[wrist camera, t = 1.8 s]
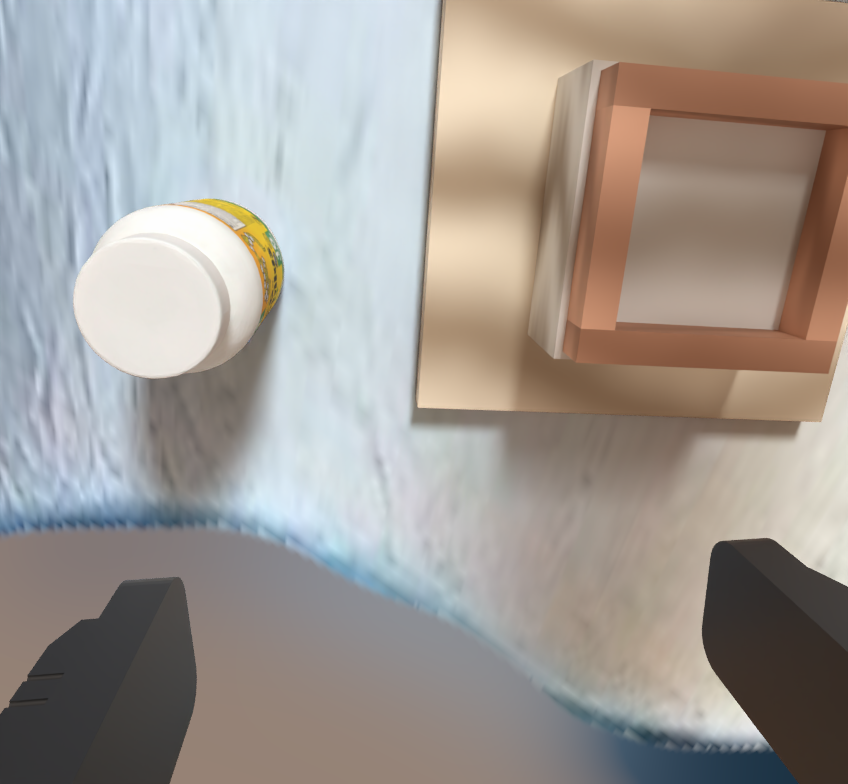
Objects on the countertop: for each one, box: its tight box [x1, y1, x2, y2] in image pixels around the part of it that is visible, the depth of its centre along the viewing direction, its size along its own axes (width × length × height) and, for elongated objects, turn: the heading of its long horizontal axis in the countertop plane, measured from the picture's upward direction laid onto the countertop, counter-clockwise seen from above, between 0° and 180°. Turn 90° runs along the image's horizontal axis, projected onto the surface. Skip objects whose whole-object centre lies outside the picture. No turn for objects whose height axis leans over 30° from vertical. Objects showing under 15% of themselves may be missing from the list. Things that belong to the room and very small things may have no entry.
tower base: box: [416, 0, 848, 422], centre depth 25 cm, size 17×19×7 cm
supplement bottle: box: [73, 199, 284, 379], centre depth 22 cm, size 5×5×10 cm
